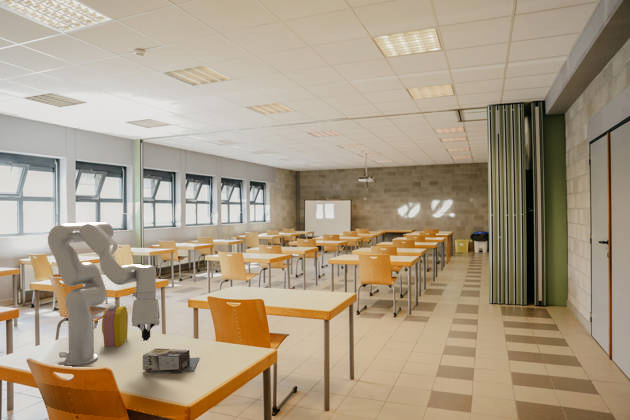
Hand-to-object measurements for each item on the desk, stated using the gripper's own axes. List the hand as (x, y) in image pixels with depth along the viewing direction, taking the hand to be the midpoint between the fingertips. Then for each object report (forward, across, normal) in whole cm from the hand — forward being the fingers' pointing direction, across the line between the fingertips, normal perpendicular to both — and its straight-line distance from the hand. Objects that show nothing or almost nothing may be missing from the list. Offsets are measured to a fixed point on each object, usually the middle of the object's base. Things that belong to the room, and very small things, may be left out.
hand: (146, 339), depth 173 cm
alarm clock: (+12, -24, +36) cm, 45 cm away
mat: (+11, +12, -1) cm, 16 cm away
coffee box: (+8, +1, -1) cm, 8 cm away
